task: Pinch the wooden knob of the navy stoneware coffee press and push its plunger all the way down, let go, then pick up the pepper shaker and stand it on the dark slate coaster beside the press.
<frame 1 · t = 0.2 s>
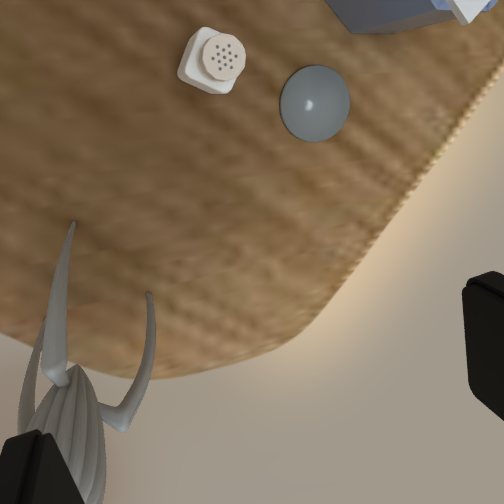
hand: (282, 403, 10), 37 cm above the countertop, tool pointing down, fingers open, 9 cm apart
juicer: (86, 265, 46), on the countertop
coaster: (313, 104, 47), on the countertop
pepper shaker: (202, 65, 43), on the countertop
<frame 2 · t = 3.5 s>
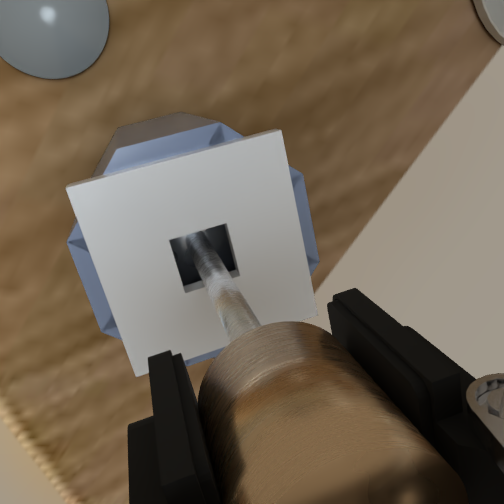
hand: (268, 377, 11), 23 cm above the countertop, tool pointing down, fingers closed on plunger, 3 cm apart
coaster: (46, 14, 28), on the countertop
plunger: (232, 308, 15), point 19 cm above the countertop, slide at 0.0 cm, touching gripper
press pot: (171, 193, 33), on the countertop
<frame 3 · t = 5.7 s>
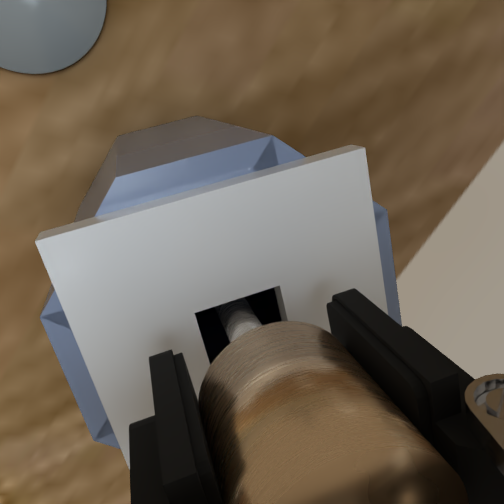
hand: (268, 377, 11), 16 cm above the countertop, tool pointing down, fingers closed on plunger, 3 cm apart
plunger: (232, 308, 15), point 12 cm above the countertop, slide at 7.0 cm, touching gripper
press pot: (184, 217, 26), on the countertop
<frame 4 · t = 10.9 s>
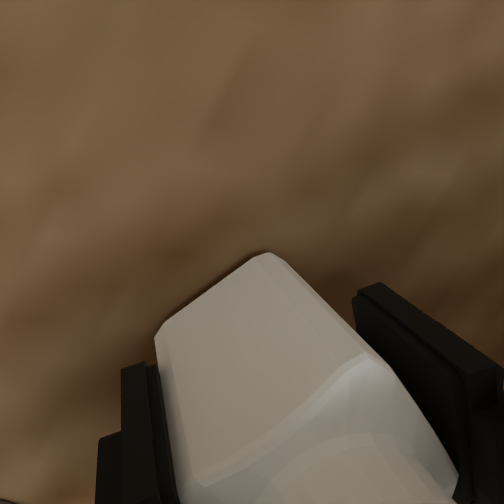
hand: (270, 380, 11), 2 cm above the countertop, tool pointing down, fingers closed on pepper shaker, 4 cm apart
pepper shaker: (244, 330, 14), on the countertop, touching gripper
when the fingers open (4 cm above the countertop, at t = 15.9 s): pepper shaker stays where it is, resting on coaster.
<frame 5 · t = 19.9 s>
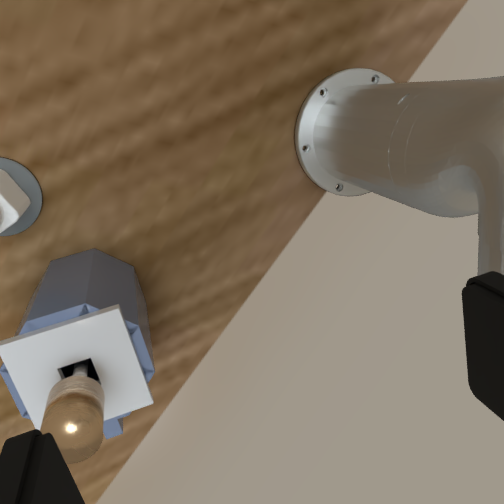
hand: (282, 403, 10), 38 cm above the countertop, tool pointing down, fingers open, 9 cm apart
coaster: (0, 196, 43), on the countertop
plunger: (81, 363, 37), point 12 cm above the countertop, slide at 7.0 cm
press pot: (90, 300, 48), on the countertop
pepper shaker: (0, 196, 43), resting on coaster
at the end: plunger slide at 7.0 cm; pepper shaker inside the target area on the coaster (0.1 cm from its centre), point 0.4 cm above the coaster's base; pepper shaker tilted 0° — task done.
